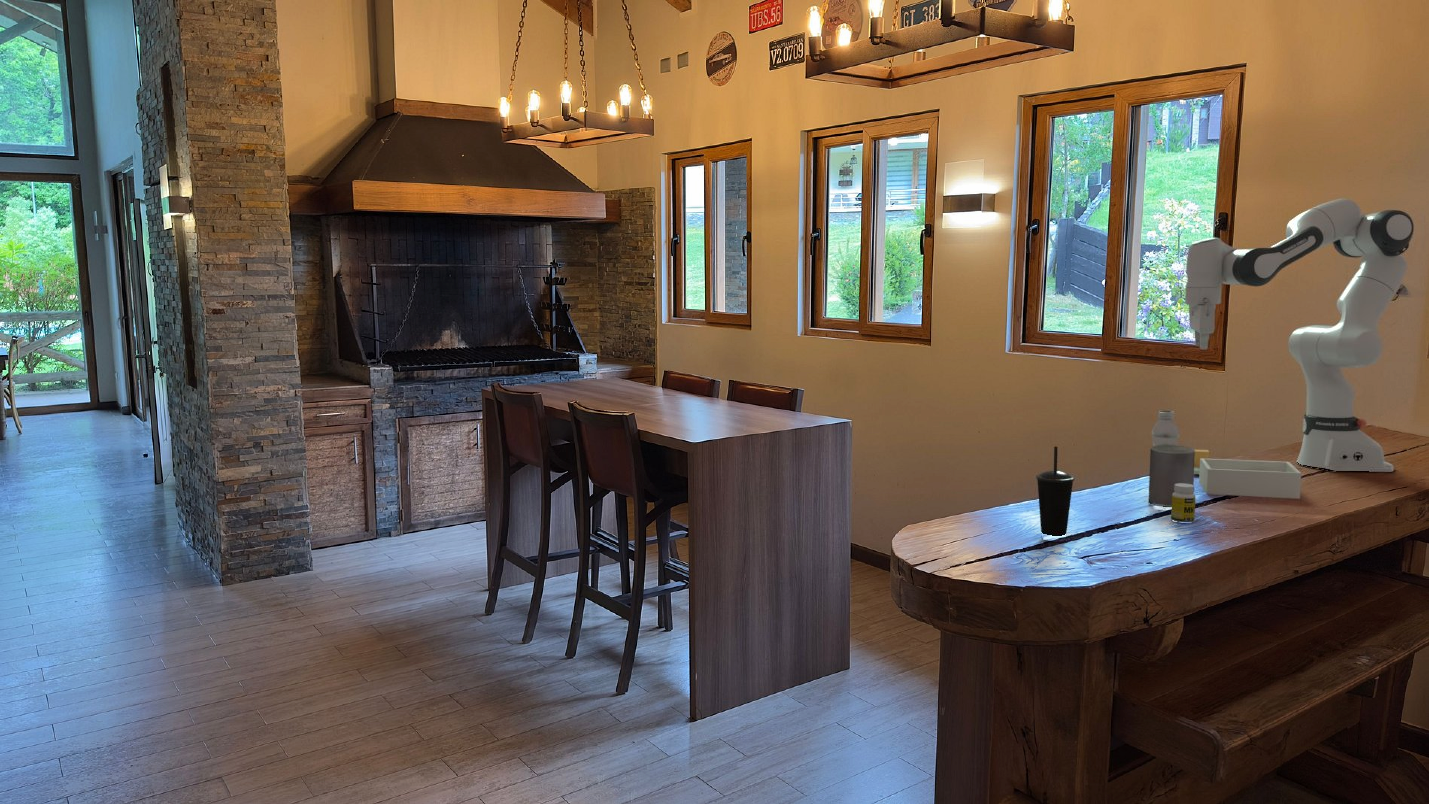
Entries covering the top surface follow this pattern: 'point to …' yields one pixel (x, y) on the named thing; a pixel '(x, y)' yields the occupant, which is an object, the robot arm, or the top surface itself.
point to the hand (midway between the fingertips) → (1201, 347)
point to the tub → (1250, 478)
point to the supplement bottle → (1183, 503)
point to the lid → (1198, 455)
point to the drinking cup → (1054, 499)
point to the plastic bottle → (1165, 429)
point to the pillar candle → (1169, 471)
